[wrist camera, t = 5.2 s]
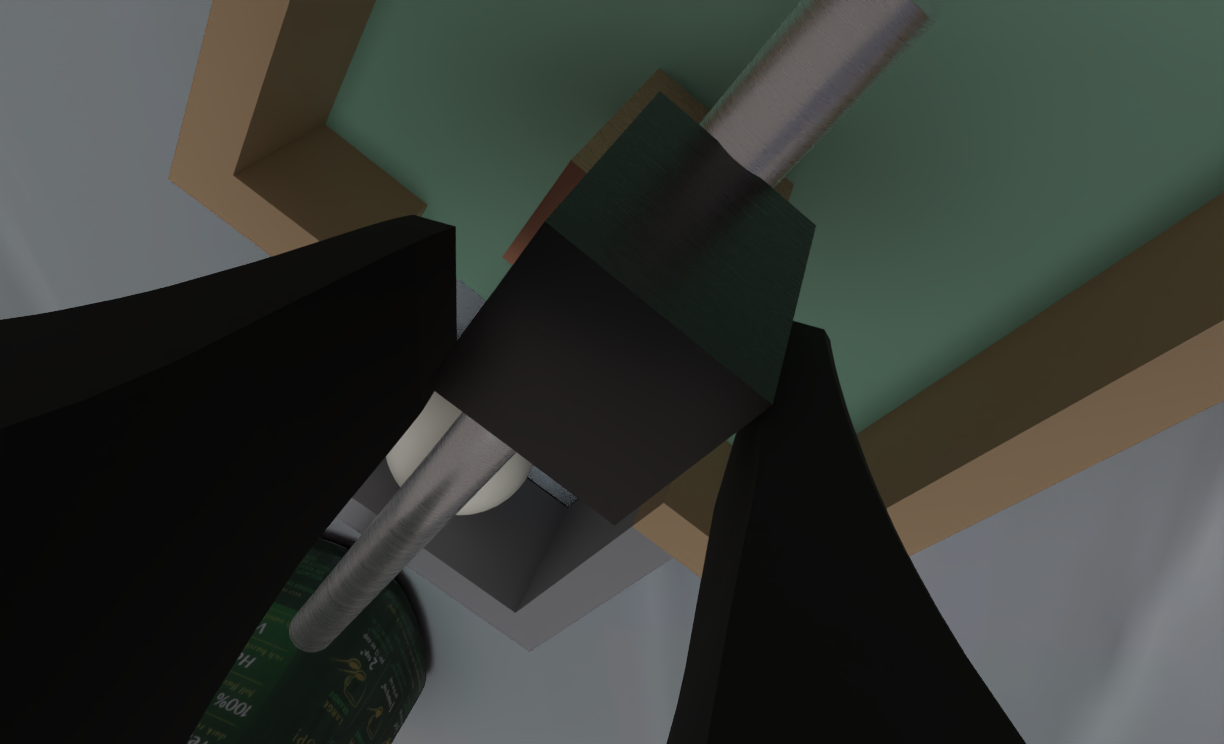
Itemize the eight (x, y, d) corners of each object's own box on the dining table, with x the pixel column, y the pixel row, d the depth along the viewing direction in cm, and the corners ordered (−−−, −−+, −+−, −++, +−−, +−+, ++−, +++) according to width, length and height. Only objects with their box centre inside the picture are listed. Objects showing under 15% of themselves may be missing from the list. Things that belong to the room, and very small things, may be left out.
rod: (823, -156, 11) (681, -85, 4) (980, -4, 11) (1059, 257, 5) (357, 480, 24) (145, 737, 17) (440, 540, 24) (265, 812, 18)
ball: (406, 376, 17) (329, 481, 19) (545, 479, 18) (458, 573, 20) (466, 311, 21) (396, 406, 23) (581, 400, 21) (504, 485, 23)
